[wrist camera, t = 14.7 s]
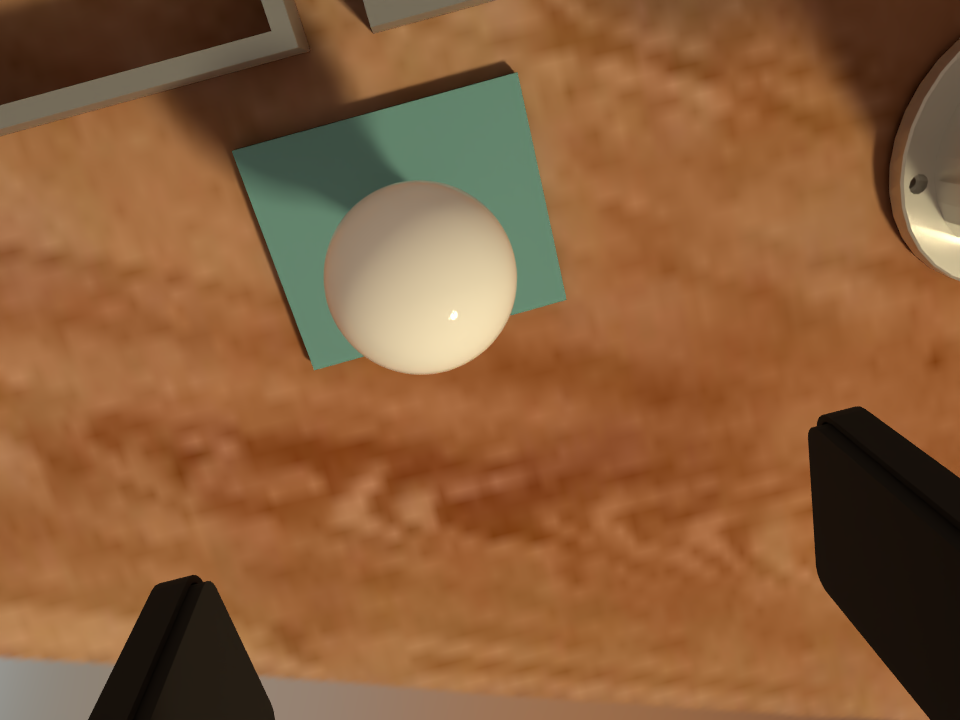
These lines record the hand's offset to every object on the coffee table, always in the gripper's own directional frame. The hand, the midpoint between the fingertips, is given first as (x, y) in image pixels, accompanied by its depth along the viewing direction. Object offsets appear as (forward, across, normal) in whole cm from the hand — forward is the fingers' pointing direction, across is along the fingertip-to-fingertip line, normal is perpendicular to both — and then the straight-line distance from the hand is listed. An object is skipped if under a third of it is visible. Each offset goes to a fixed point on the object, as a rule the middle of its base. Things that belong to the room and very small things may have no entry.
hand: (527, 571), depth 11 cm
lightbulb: (+22, +1, -1) cm, 22 cm away
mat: (+23, +2, -1) cm, 23 cm away
